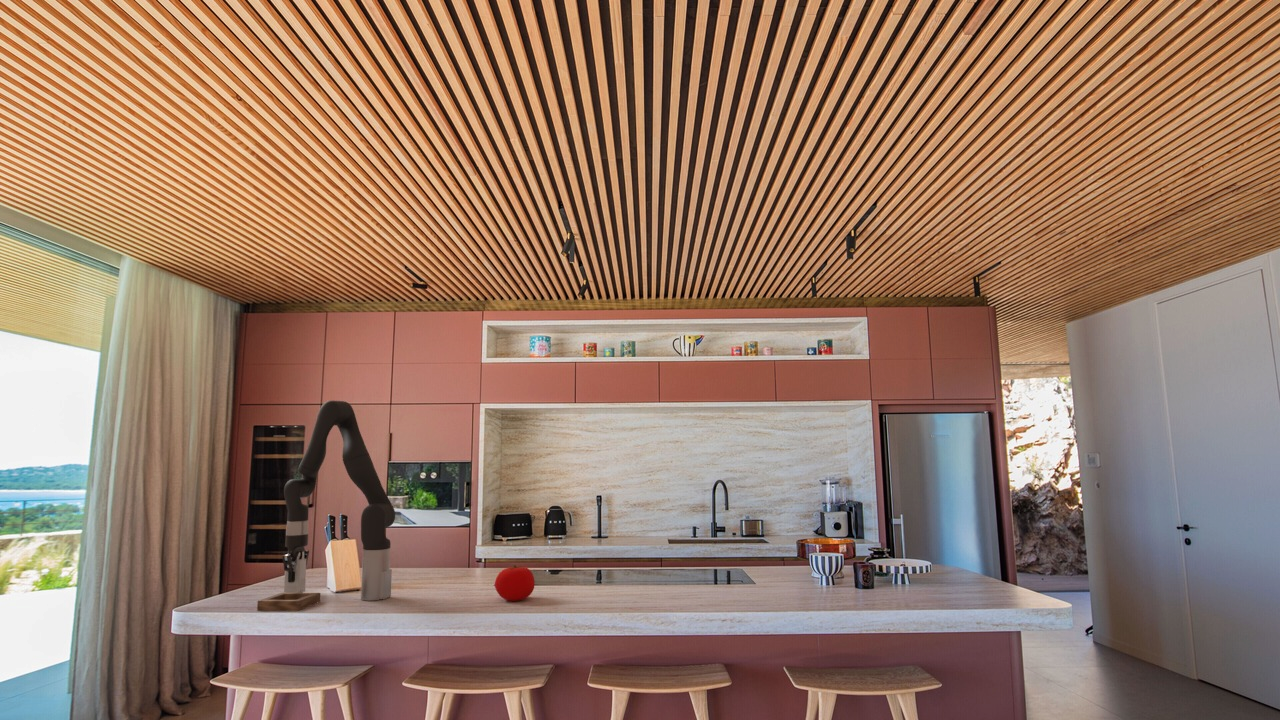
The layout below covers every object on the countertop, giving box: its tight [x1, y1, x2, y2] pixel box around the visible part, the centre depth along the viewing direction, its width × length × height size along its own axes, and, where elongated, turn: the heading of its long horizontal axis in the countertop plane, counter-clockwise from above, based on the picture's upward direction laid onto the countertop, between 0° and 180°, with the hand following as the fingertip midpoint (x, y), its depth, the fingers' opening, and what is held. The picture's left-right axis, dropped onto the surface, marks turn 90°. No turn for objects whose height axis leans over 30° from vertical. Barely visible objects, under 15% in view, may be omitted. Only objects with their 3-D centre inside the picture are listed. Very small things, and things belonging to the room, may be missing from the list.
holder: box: [256, 592, 321, 612], centre depth 239 cm, size 14×14×3 cm
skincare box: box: [283, 559, 307, 593], centre depth 258 cm, size 6×4×12 cm
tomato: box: [494, 564, 536, 602], centre depth 246 cm, size 13×14×12 cm
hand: (295, 580), depth 258 cm, fingers closed on skincare box, 4 cm apart
